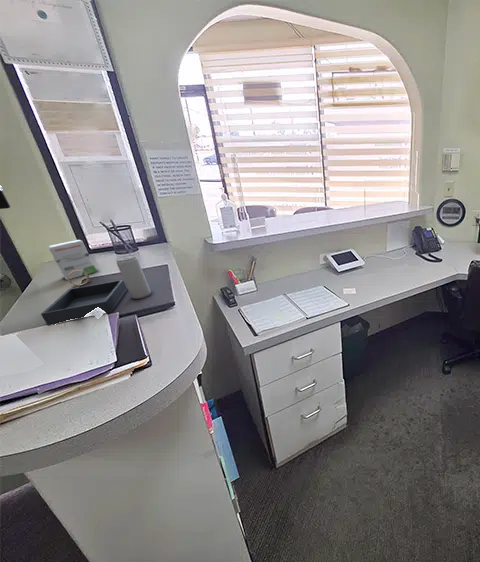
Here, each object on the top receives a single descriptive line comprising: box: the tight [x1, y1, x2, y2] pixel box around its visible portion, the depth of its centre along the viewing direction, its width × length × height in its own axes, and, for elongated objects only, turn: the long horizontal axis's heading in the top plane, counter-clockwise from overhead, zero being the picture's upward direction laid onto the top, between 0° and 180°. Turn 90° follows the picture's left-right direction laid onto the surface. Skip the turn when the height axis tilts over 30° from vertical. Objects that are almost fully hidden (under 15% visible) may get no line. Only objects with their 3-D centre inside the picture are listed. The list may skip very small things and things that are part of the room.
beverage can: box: [115, 254, 152, 300], centre depth 88 cm, size 5×5×12 cm
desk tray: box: [40, 279, 128, 326], centre depth 86 cm, size 13×16×3 cm
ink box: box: [47, 239, 98, 281], centre depth 107 cm, size 9×5×12 cm, turn 141°
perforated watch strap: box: [67, 270, 90, 287], centre depth 100 cm, size 3×5×5 cm, turn 147°
